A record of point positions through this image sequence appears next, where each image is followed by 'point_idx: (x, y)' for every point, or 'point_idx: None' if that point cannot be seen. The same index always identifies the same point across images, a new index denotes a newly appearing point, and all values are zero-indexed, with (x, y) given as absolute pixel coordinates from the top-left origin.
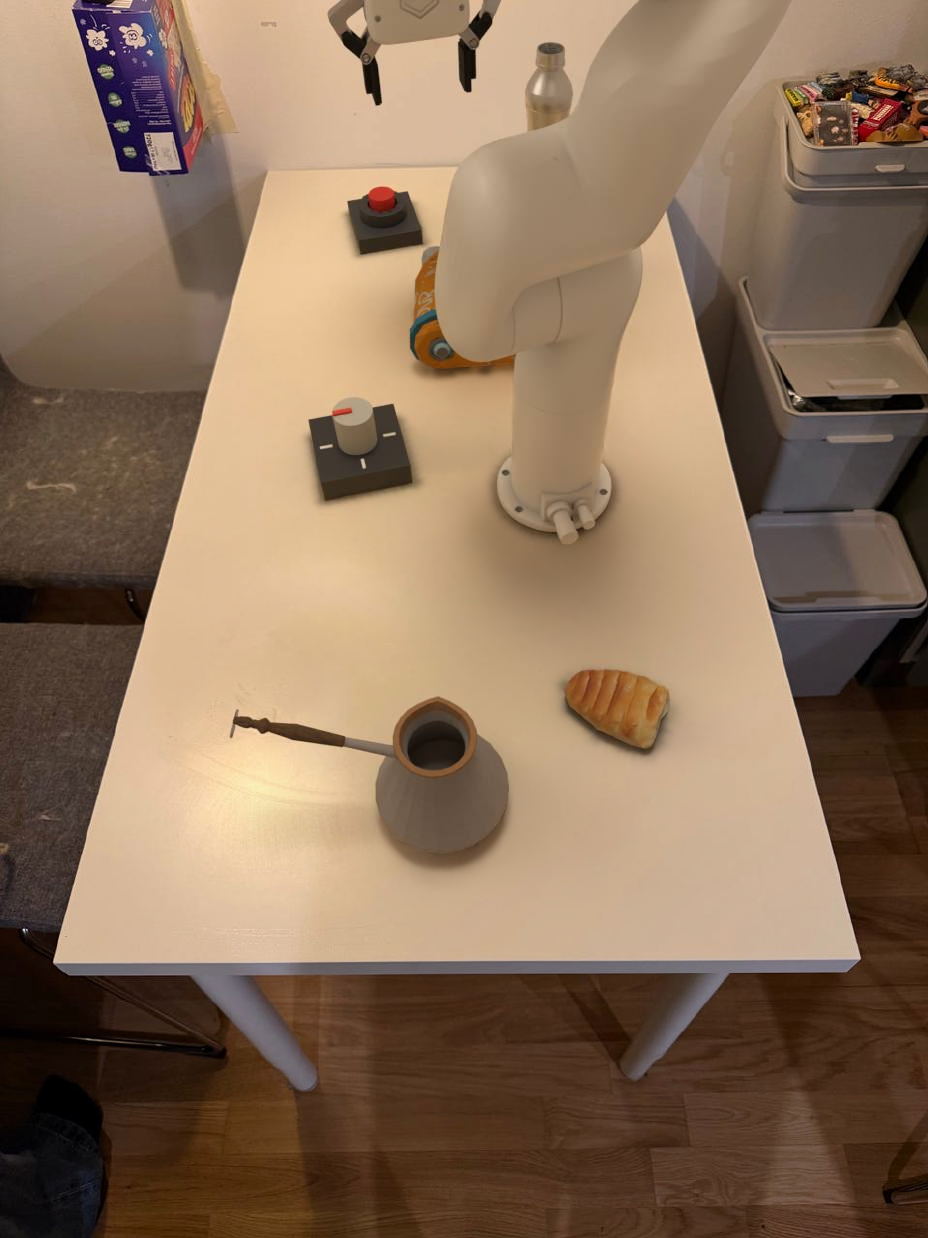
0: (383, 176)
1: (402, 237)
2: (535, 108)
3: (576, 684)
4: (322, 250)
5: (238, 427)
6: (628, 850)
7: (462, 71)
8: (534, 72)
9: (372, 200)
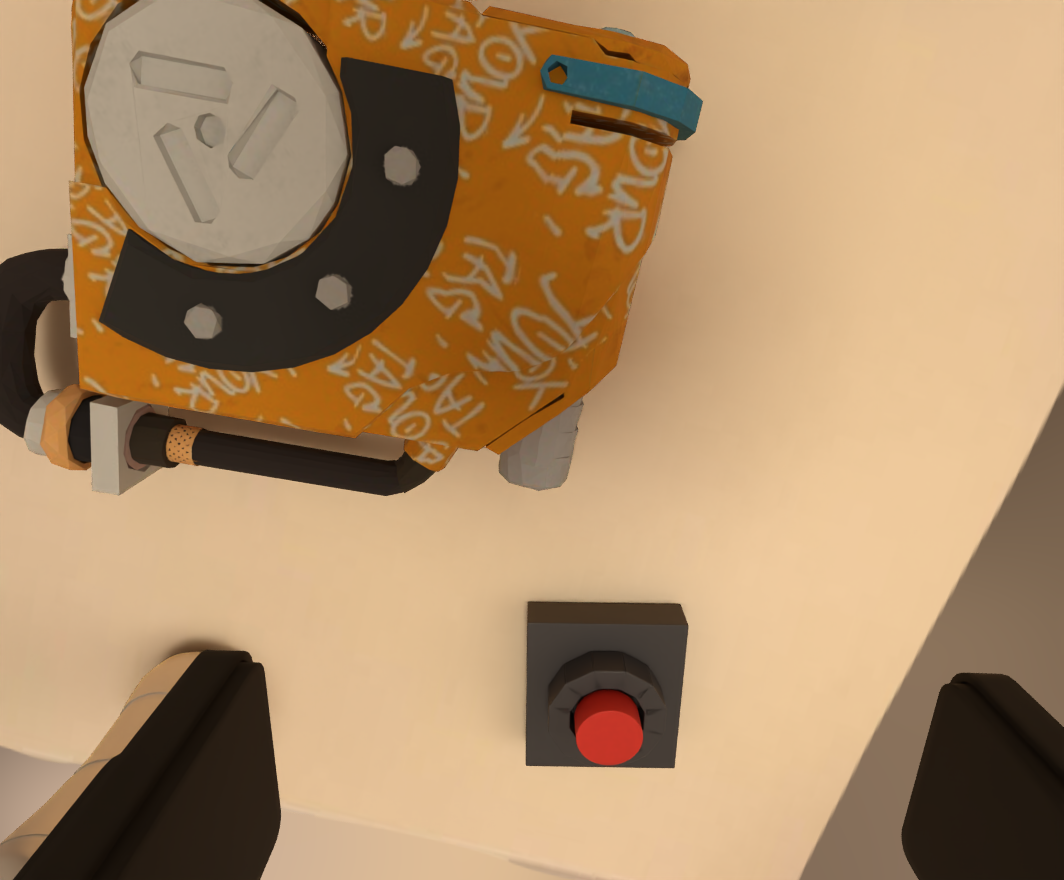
0: (558, 844)
1: (577, 616)
2: None
3: None
4: (761, 640)
5: None
6: None
7: (213, 817)
8: None
9: (637, 720)
